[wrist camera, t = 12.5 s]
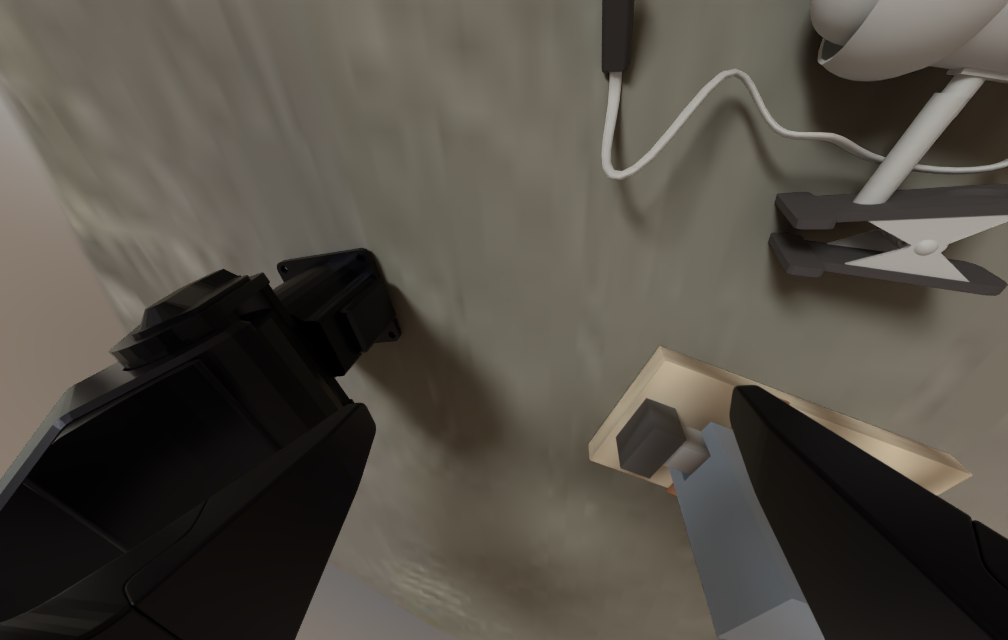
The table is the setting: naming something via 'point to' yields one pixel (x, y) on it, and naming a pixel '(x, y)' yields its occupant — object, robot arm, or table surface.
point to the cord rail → (707, 398)
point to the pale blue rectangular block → (739, 550)
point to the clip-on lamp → (899, 214)
